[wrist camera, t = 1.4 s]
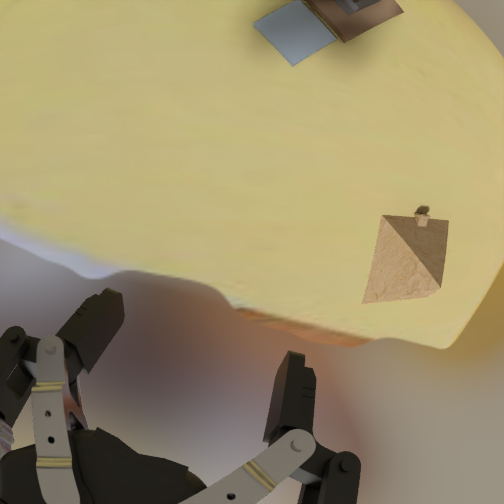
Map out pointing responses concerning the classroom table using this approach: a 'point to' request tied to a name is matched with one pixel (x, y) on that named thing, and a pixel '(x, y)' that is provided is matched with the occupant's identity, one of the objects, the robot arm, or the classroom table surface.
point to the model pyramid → (407, 258)
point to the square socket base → (354, 14)
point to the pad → (294, 31)
